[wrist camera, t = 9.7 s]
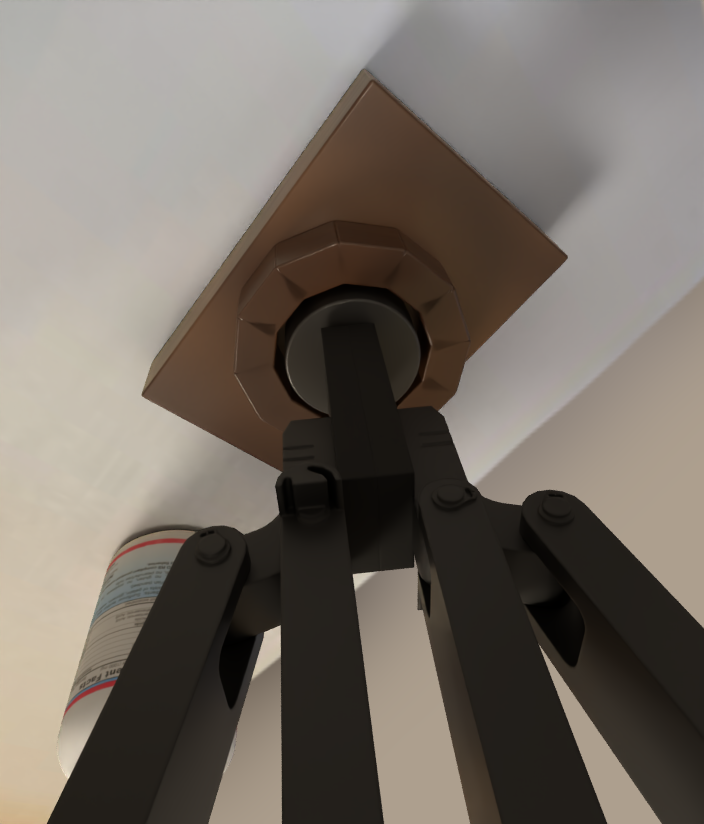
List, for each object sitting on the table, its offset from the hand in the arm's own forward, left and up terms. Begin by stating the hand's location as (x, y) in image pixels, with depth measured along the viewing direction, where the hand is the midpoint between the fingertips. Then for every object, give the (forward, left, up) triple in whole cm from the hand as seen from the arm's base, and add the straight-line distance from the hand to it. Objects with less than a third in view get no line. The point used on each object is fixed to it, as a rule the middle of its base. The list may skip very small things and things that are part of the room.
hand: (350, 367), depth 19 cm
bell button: (0, 0, -2) cm, 2 cm away
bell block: (0, 0, -5) cm, 5 cm away
